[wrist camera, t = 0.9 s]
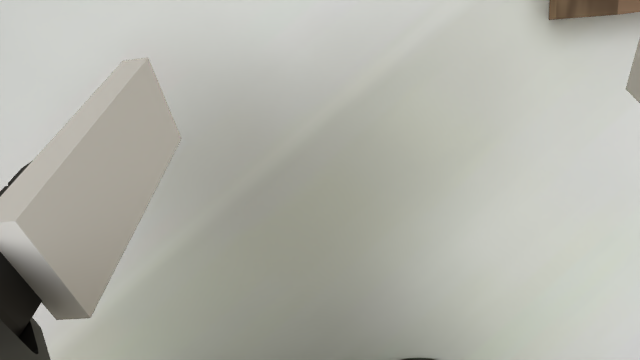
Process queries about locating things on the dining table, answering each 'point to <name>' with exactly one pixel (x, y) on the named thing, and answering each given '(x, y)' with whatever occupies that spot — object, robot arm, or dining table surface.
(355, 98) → the dining table surface
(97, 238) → the robot arm
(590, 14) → the wooden jar holder
